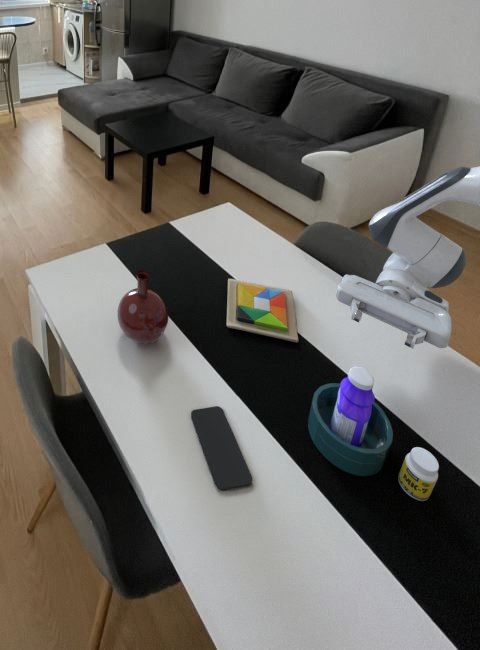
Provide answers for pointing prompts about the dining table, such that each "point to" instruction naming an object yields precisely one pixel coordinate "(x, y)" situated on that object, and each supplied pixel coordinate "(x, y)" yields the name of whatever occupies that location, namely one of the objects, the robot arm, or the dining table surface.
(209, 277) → the dining table surface
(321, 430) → the teal bowl
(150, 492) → the dining table surface
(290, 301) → the wooden puzzle
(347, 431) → the bottle
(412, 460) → the supplement bottle
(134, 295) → the round-bottom flask
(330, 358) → the dining table surface
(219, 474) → the phone
